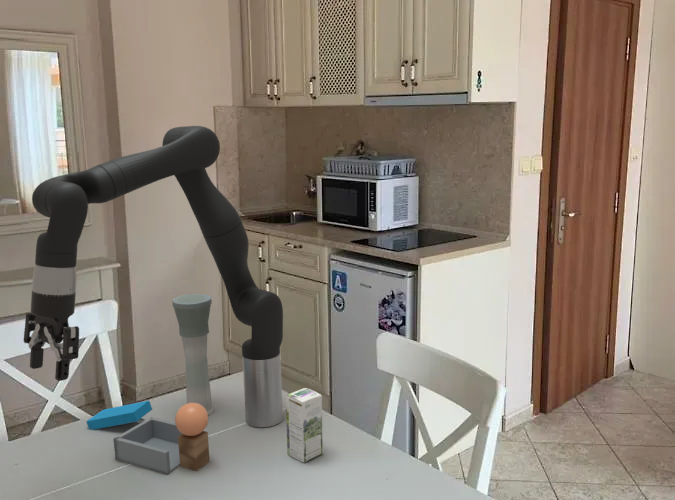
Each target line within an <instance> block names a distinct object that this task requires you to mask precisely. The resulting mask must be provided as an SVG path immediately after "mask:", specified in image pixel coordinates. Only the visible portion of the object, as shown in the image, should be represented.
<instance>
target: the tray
mask: <svg viewBox="0 0 675 500" xmlns="http://www.w3.org/2000/svg"><path fill="white" fill-rule="evenodd" d="M181 434H182V433H181V432H180V431H179V430H178V429H177V427H176V424H175V421H170V420H165V419H162V418H161V419H160V418H159V419H158V417H153V416H150V417H149V418H148V419H145V421H144V422H142V423H137V425H135V426H134V427H133V426H132V427H131V428H130V429H128V430H126V431H125V432H123V433H121V434H119V435H117V436H115V437H114V438H113V439H112V441H113V448H114V459H115V461H120V462H123V463H126V464H130V465H133V466H136V467H140V468H143V469H147V470H150V471H154V472H156V473H157V472H158V473H161V474H164V475H169V474H171V473H173V471H175V470H176V469H177V468H179V467H180V457H179V445H178V436H180V435H181Z"/></svg>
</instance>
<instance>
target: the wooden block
mask: <svg viewBox="0 0 675 500" xmlns="http://www.w3.org/2000/svg"><path fill="white" fill-rule="evenodd" d="M178 445H179V457H180V466H179V467H181V468H184V469H188V470H190V471H191V470H192V471H195V472H198V471H199V470H200V469H201V468H203V467H204V466H206V465H207V464H208V463H210V461H211V459H210V445H209V432H208V431H206V430H204V431H203V432H201V433H200V434H198V435H195V436H187V435H184V434H181V435H180V436H178Z"/></svg>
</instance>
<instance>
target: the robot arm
mask: <svg viewBox="0 0 675 500" xmlns="http://www.w3.org/2000/svg"><path fill="white" fill-rule="evenodd" d="M161 145H162V146H159V147H156V148H153V149H149V150H145V151H142V152H137V153H133V154H128V155H124V156H120V157H118V158H114V159H111V160H108V161H105V162H103V163H100V164H97V165H94V166H93V167H90V168H88V169H86V170H85V169H84V170H81V171H76V172H71V173H65V174H62V175H58V176H54V177H51V178H49V179H46V180H44V181H42V182H40V183H39V184H38V185H37V186H36V188H35V189H34V190H33V192H32V196H31V203H32V205H33V208H34V209H35V211H36V212H37V213H39V214H40V215H42V216H44V217H47V218H49V221H48V226H47V229H46V232H45V231H44V232H42V233H40V234H39V235H38V237H37V239H36V245H35V246H36V247H35V258H34V259H35V261H34V269H33V274H32V281H31V297H30V298H31V300H30V312H27V313H26V314H25V321H24V322H25V323H24V332H23V343H24V344H28V348H29V350H30V353H29V354H30V356H29V357H30V359H29V368H31V369H33V370H36V369H41V368H42V367H43V365H44V353H45V352H44V350H45V348H44V346H45V345H46V343H47V344H48V345H49V347H50V350H51V351H53V352H54V355H55V358H56V363H55V376H54V378H55V380H56V381H58V382H60V381H61V382H62V381H65V380H68V379H69V375H70V362H71V361H72V360H75V359H78V358H79V350H80V349H79V348H80V347H79V345H80V328H79V326H78V325H77V326H76V325H75V326H69V325H70V324H69V318H70V317H71V316H73V315H74V314H75V311H76V310H75V307H76V294H77V282H78V281H77V280H78V279H77V276H78V275H77V261H78V260H77V258H78V243H79V242H80V238H81V235H82V233H83V229H84V227H85V223H86V220H87V216H88V210H89V205H90V204H105V203H107V202H110V201H112V200H115V199H117V198H119V197H121V196H125V195H127V194H129V193H132V192H135V191H136V190H138V189H140V188H144V187H146V186H148V185H151V184H153V183H155V182H159V181H161V180H164V179H167V178H168V177H170V178H171V177H172V176H174V177H175V179H176V181H177V182H178V184H179V186H180V188H181V189H182V191H183V193H184V195H185V197H186V199H187V202H188V204H189V206H190V208H191V210H192V213H193V215H194V217H195V220H196V221H197V223H198V226H199V229H200V231H201V234H202V237H203V238H204V241H205V243H206V245H207V248H208V249H209V252H210V253H211V255H212V258H213V261H214V262H215V264H216V268H217V270H218V272H219V274H220V276H221V278H222V280H223V284H224V286H225V290H226V293H227V296H228V299H229V303H230V306H231V309H232V311H233V314H234V316H235V318H236V319H237V320H238V321H239V322H240V323H242V324H243V325H246V326H249V327H251V337H250V338H249V339H247V340H245V341H244V342H243V343H242V345H241V356H242V357H241V358H242V374H243V390H244V391H243V394H244V410H245V411H244V412H245V422H246V423H247V424H248V425H249V426H251V427H255V428H269V427H270V428H271V427H274V426H276V425H277V424H280V423H281V422H282V421H283V419H284V409H283V386H282V384H283V383H282V365H281V364H282V363H281V345H282V343H283V337H284V335H283V334H284V311H283V310H284V308H283V303H282V301H281V298H280V297H279V295H278V294H276V293H275V292H272V291H269V290H265V289H261V288H259V287H258V286H257V285H256V282H255V281H254V278H253V276H252V274H251V272H250V270H249V269H250V268H249V264H248V257H249V246H250V245H249V238H248V234H247V230H246V228H245V226H244V224H243V222H242V221H243V220H242V219H241V217H240V215H239V212H238V211H237V209H236V208H235V207H234V205H233V204H232V203H231V202H230V201H229V200H228V199H227V197H225V195H223V193H222V192H221V191H220V190H219V189H218V188H217V186H215V184H214V183H213V181H212V180H211V178H210V176H209V174H208V172H207V170H206V169H207V168H209V167H211V166H212V165H213V164H214V163H215V162H216V161H217V159H218V158H219V156H220V150H221V146H220V145H221V144H220V140H219V137H218V136H217V134H216V133H215V132H214V131H213V130H211V129H210V128H208V127H206V126H202V125H190V126H189V125H188V126H184V125H183V126H178V127H177V126H176V127H173V128H170V129H169V130H167V131H166V132H165V134H164V136H163V140H162V143H161ZM31 332H32V333H31ZM71 347H72V349H71Z"/></svg>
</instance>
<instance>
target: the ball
mask: <svg viewBox="0 0 675 500" xmlns="http://www.w3.org/2000/svg"><path fill="white" fill-rule="evenodd" d="M174 417H175V418H174V423H175V424H176V427H177V429H178V430H179V431H180V432H181V433H182V434H184V435H187V436H195V435H198V434H200V433H201V432H203V431H205V430H206V428H207V426H208V424H209V416H208V413H207V411H206V409H205V408H204V407H203V406H202V405H200V404H198V403H187V402H186V403H185V404H183V405H182V406H181V407H179V409H178V410H177V412H176V413H175V416H174Z"/></svg>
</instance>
